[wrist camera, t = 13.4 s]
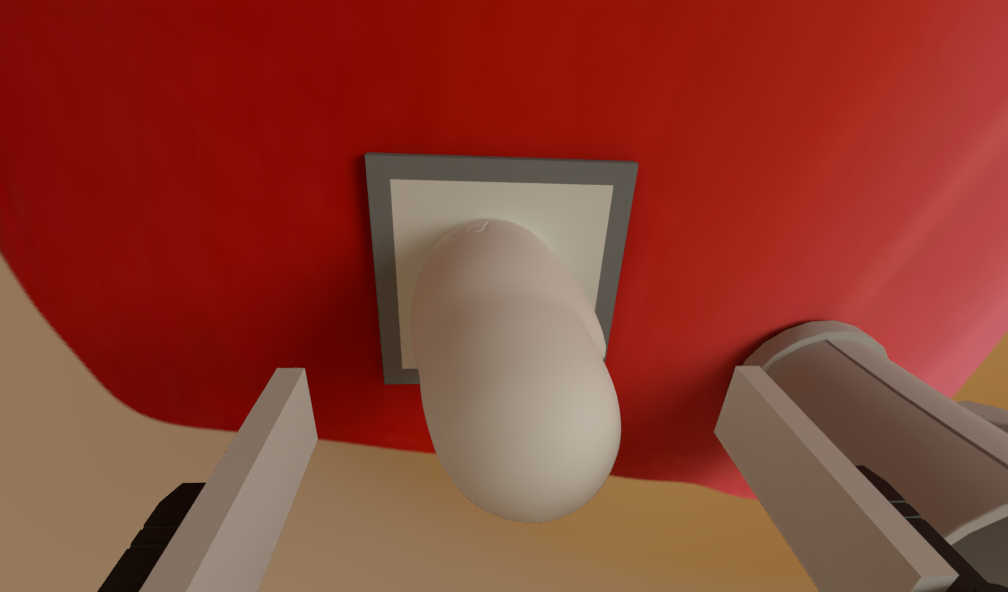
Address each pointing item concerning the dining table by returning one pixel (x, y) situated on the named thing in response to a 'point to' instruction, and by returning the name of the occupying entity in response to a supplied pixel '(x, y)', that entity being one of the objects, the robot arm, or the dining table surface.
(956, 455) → the cup
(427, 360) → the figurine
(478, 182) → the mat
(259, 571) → the robot arm
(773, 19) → the dining table surface
